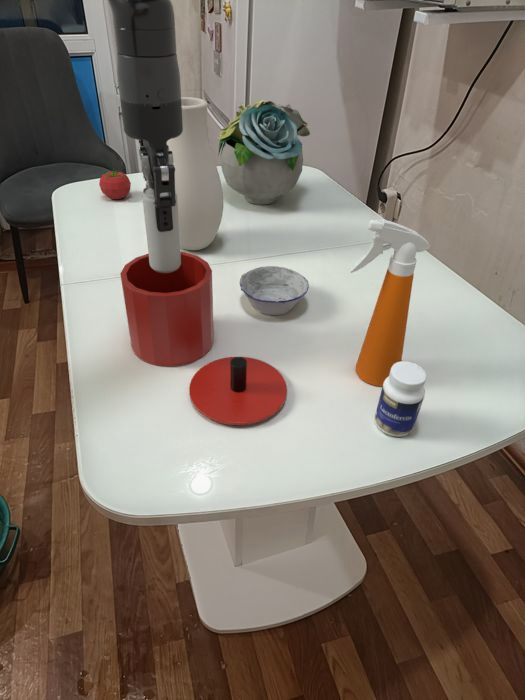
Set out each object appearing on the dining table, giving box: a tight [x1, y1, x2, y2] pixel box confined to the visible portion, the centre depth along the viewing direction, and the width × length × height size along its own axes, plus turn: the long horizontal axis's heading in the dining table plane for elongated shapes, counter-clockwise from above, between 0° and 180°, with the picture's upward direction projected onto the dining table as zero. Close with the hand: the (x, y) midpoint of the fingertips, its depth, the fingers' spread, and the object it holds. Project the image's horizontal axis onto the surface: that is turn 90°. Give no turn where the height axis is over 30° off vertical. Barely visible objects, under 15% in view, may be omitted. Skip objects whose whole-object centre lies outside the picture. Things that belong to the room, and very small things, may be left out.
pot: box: [120, 251, 215, 368], centre depth 83 cm, size 14×14×14 cm
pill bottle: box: [374, 360, 427, 437], centre depth 71 cm, size 6×6×10 cm
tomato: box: [98, 168, 132, 200], centre depth 133 cm, size 8×8×8 cm
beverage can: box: [141, 186, 181, 273], centre depth 75 cm, size 5×5×12 cm
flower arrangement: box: [216, 99, 311, 206], centre depth 131 cm, size 25×25×24 cm
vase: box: [167, 96, 224, 251], centre depth 106 cm, size 14×14×30 cm
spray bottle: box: [349, 218, 432, 387], centre depth 75 cm, size 7×11×26 cm, turn 94°
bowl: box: [239, 265, 310, 316], centre depth 96 cm, size 13×13×5 cm
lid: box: [188, 356, 288, 426], centre depth 76 cm, size 15×15×6 cm
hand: (161, 221), depth 74 cm, fingers closed on beverage can, 5 cm apart
